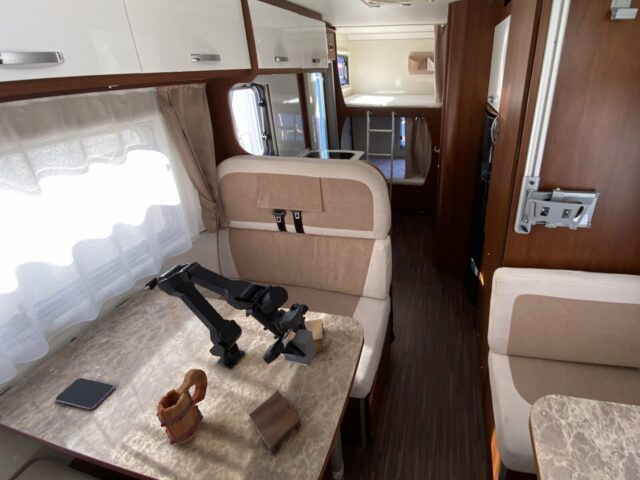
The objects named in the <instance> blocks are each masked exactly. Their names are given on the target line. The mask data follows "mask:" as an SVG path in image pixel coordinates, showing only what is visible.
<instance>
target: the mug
mask: <svg viewBox="0 0 640 480" xmlns="http://www.w3.org/2000/svg"><path fill="white" fill-rule="evenodd" d="M208 383H209V382H208V376H207V373H206V371H205V370H203V369H201V368H190V369H188V371H187V372H186V374H185V375H184V378H183V380H182V382H181V384H180V386H179V387H178V388H177V389H171V390H169V391H168V392H167V393H166V394H165V395H164V396H162V397H161V398H160V400H159V402H158V405H157V407H156V410H157V412H156V413H155V416H156V417H157V419H158V421H159V423H160V427H161V428H165V430H164V432H165V434H166V436H167V438H168V439H169V445H172V446H173V445H184V444H185V443H187V442H188V441H190V440H192V439H193V437H195V435H196V434H197V433H198V432H199V430H200V428H201V425H202V420H203V419H204V415H203V413H202V411H201V410H200V408H199V405H198V404H199V403H201V402H202V401H204V400H205V399H206V395H207V390H208V385H209V384H208ZM192 387H194V391H193V394H191V393H190V390H191V388H192Z"/></svg>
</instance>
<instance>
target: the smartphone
mask: <svg viewBox="0 0 640 480" xmlns="http://www.w3.org/2000/svg"><path fill="white" fill-rule="evenodd" d="M114 390H115V385H114V384H110V383H106V382H101V381H97V380H93V379H88V378H84V377H78V378H76V379H75V380H74V381H72V383H70V384H69V385H68V386H67V387H66V388H64V389H63V390H62V391H61V392H60V393H58V395H56V397H55V399H54V400H55V402H58V403H61V404H62V403H63V404H66V405H70V406H74V407H79V408H82V409H85V410H89V411H90V410H94V409H96V408H97V406H99V404H101V403H102V402H103V401H104V400H105V399H106V398H107V397H108V396H109V394H111V393H112V392H113V391H114Z"/></svg>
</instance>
